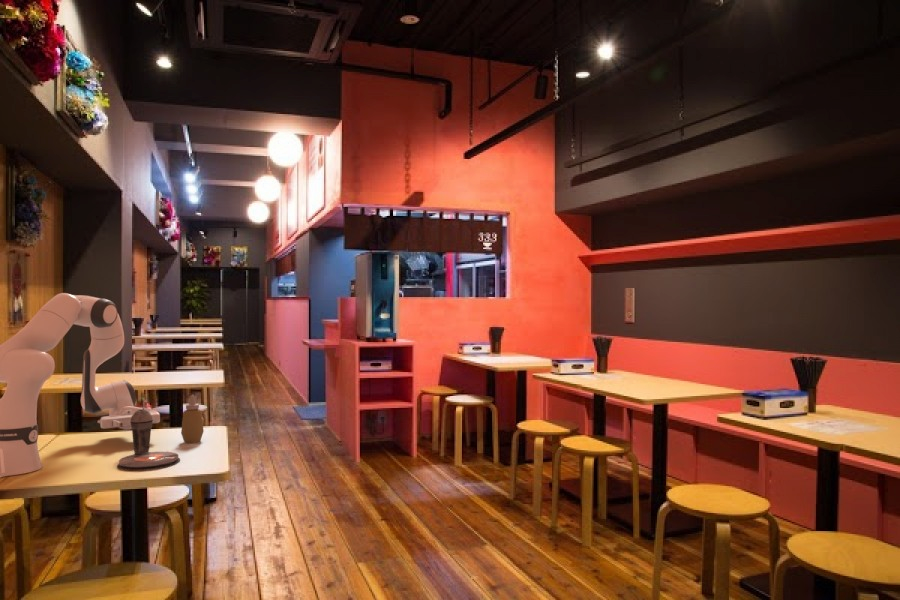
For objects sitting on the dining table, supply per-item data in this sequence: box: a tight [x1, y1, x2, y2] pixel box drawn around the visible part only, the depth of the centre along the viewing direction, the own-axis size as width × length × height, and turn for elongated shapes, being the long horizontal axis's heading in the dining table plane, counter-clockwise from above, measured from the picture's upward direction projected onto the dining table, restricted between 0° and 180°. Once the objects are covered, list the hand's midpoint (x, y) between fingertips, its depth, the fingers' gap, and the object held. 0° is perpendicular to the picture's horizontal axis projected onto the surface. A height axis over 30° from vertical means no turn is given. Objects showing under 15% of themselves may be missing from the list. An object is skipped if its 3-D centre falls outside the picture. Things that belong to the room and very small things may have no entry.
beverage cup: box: [130, 396, 153, 454], centre depth 224 cm, size 7×7×20 cm
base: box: [116, 457, 181, 472], centre depth 211 cm, size 19×19×1 cm
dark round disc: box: [118, 451, 179, 469], centre depth 211 cm, size 18×18×1 cm
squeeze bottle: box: [180, 394, 205, 444], centre depth 244 cm, size 8×8×18 cm
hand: (134, 423), depth 234 cm, fingers open, 8 cm apart
